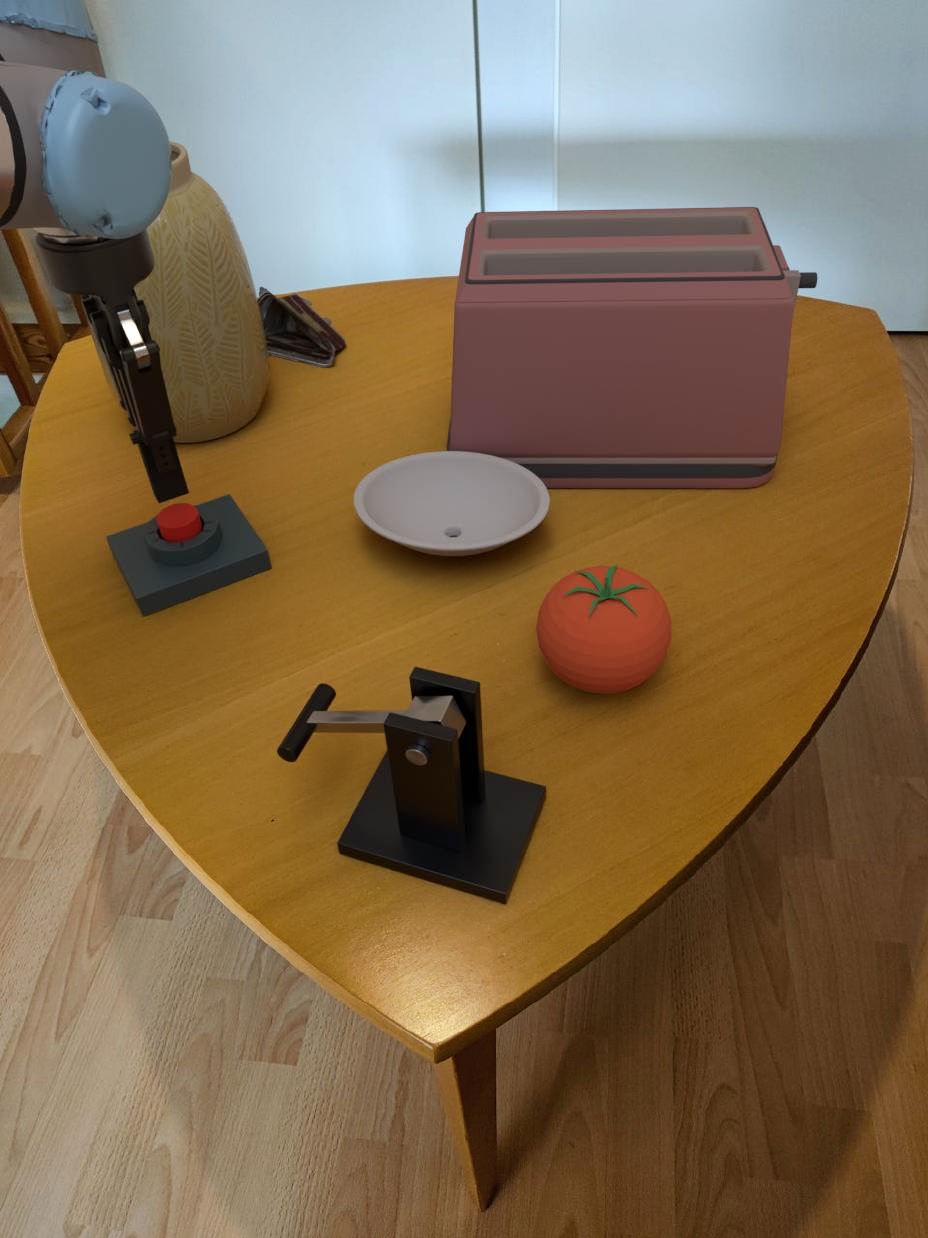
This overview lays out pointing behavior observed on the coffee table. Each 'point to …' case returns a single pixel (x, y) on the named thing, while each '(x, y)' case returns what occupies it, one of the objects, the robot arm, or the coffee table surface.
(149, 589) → the control block
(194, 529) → the button
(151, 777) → the coffee table surface
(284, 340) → the chocolate cake
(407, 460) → the dish
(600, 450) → the toaster
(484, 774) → the bracket
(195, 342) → the vase
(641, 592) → the tomato
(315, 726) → the lever
